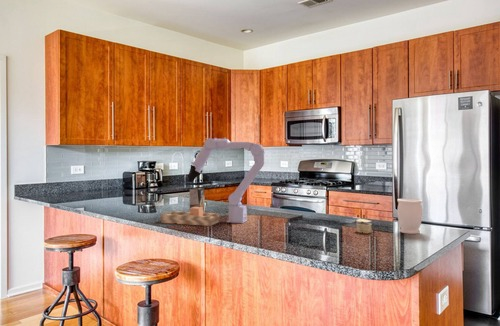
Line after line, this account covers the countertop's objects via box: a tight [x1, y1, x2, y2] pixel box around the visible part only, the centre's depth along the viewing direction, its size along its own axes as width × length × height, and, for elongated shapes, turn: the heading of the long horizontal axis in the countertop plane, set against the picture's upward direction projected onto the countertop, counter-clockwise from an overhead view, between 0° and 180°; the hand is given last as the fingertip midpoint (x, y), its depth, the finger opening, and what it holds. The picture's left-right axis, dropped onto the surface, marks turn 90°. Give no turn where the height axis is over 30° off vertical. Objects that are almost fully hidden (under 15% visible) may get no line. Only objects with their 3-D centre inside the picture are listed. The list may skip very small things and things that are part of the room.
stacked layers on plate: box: [355, 218, 373, 234], centre depth 172 cm, size 10×9×6 cm
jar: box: [396, 197, 423, 235], centre depth 170 cm, size 11×10×15 cm
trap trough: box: [160, 210, 220, 227], centre depth 198 cm, size 29×11×4 cm, turn 71°
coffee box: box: [189, 187, 206, 213], centre depth 218 cm, size 9×6×16 cm
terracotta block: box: [189, 207, 203, 216], centre depth 197 cm, size 5×5×5 cm
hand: (189, 179), depth 201 cm, fingers open, 7 cm apart
